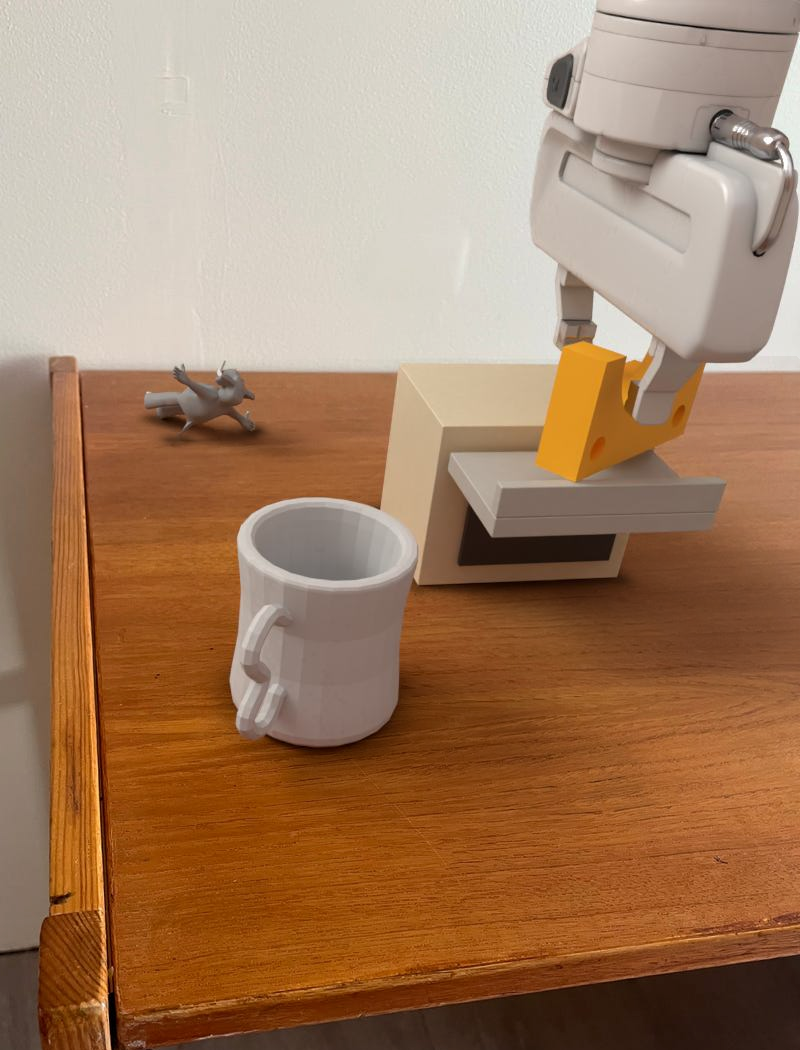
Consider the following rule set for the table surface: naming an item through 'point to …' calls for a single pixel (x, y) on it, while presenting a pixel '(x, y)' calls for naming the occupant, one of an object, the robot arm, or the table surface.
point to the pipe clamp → (602, 413)
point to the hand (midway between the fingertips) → (605, 383)
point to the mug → (320, 620)
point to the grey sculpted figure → (203, 399)
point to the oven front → (516, 483)
